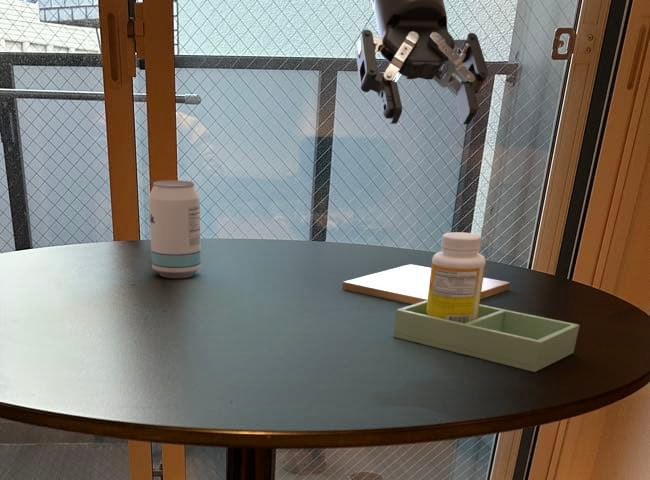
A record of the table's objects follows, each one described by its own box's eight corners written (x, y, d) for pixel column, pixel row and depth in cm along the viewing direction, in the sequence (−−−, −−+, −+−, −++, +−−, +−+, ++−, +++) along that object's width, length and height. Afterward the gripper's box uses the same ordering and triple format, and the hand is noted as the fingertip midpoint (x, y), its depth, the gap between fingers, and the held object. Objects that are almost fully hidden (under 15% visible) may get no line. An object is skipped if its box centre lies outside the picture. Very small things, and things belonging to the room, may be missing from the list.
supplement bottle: (443, 322, 92) (456, 228, 87) (484, 333, 89) (500, 235, 83) (413, 331, 89) (424, 234, 84) (454, 343, 85) (469, 242, 80)
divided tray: (435, 321, 94) (439, 295, 93) (573, 353, 84) (579, 324, 83) (393, 336, 89) (396, 309, 87) (534, 372, 79) (540, 342, 77)
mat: (409, 271, 118) (410, 264, 117) (509, 289, 108) (510, 282, 108) (342, 289, 108) (342, 281, 107) (445, 311, 98) (446, 303, 98)
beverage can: (156, 268, 118) (152, 179, 112) (203, 269, 117) (201, 180, 111) (148, 279, 112) (144, 186, 106) (198, 280, 111) (196, 186, 105)
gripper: (356, -36, 86) (383, 91, 83) (478, -30, 89) (509, 93, 86) (337, 24, 94) (361, 143, 90) (450, 28, 96) (478, 143, 93)
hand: (433, 118), depth 88 cm, fingers open, 8 cm apart
